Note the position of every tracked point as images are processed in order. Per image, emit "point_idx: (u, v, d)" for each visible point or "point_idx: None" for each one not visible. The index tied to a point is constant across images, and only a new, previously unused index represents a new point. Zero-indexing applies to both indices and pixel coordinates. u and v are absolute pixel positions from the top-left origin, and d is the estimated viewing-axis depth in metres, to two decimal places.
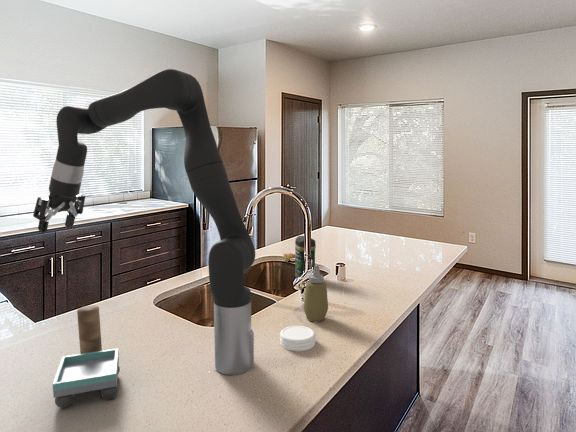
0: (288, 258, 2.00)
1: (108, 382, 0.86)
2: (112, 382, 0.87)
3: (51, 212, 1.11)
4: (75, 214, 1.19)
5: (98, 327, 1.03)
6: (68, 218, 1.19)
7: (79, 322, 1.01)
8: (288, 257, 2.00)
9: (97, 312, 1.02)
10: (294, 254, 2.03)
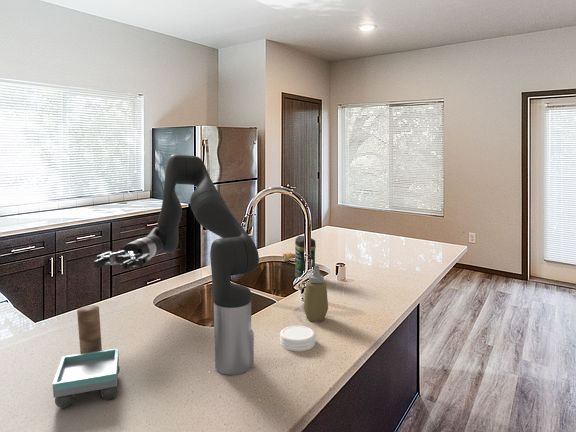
0: (288, 258, 2.00)
1: (108, 382, 0.86)
2: (112, 382, 0.87)
3: None
4: (133, 257, 1.16)
5: (98, 327, 1.03)
6: None
7: (79, 322, 1.01)
8: (288, 257, 2.00)
9: (97, 312, 1.02)
10: (294, 254, 2.04)
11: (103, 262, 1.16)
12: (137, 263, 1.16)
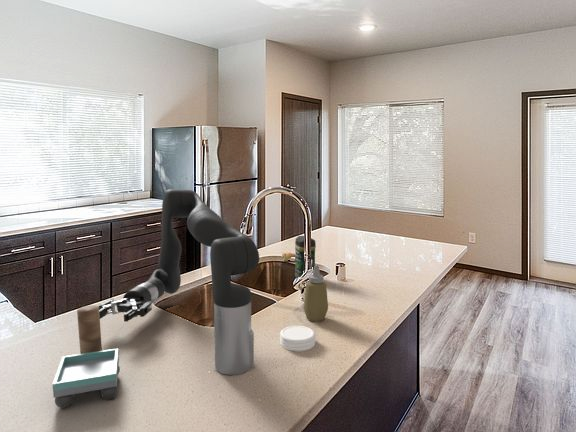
0: (287, 258, 2.00)
1: (108, 382, 0.86)
2: (112, 382, 0.87)
3: None
4: (134, 307, 1.16)
5: (98, 327, 1.03)
6: None
7: (79, 322, 1.01)
8: (287, 257, 2.01)
9: (97, 312, 1.02)
10: (293, 254, 2.04)
11: (105, 312, 1.16)
12: (139, 313, 1.15)
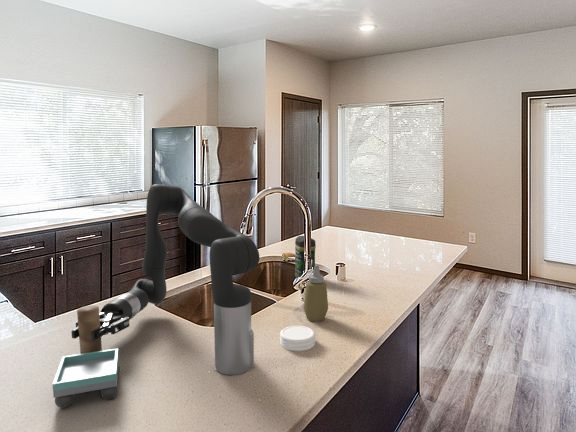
0: (287, 257, 2.01)
1: (108, 382, 0.86)
2: (112, 382, 0.87)
3: None
4: (105, 324, 1.05)
5: (98, 327, 1.03)
6: None
7: (79, 322, 1.01)
8: (287, 256, 2.01)
9: (97, 312, 1.02)
10: (292, 253, 2.05)
11: None
12: (109, 330, 1.04)
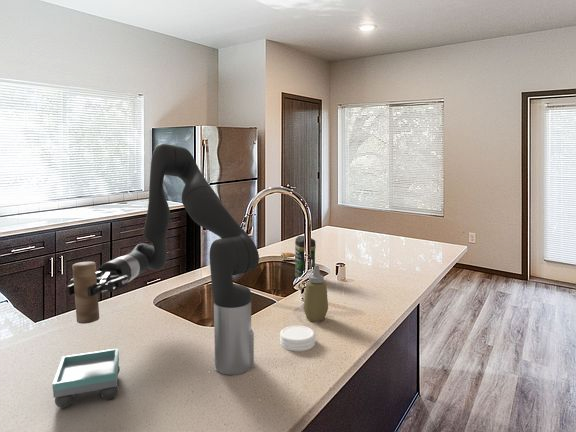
0: (286, 257, 2.01)
1: (108, 382, 0.86)
2: (112, 382, 0.87)
3: None
4: (102, 281, 0.99)
5: (94, 283, 0.97)
6: None
7: (74, 277, 0.95)
8: (286, 256, 2.01)
9: (93, 267, 0.97)
10: (292, 253, 2.05)
11: None
12: (106, 288, 0.99)
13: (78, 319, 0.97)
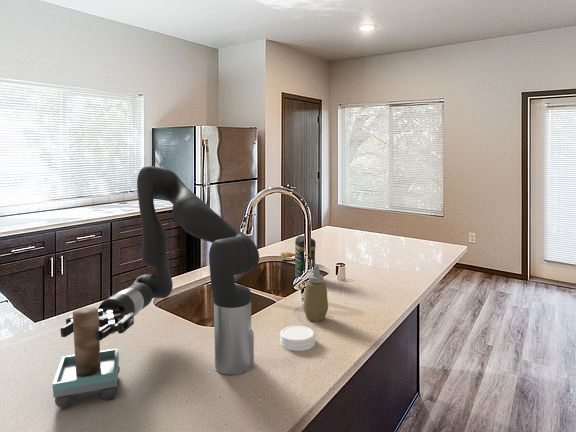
0: None
1: (108, 382, 0.86)
2: (112, 382, 0.87)
3: None
4: (111, 322, 0.91)
5: None
6: None
7: (75, 326, 0.86)
8: (286, 256, 2.02)
9: (96, 315, 0.88)
10: (291, 253, 2.06)
11: None
12: (116, 329, 0.90)
13: (77, 371, 0.88)
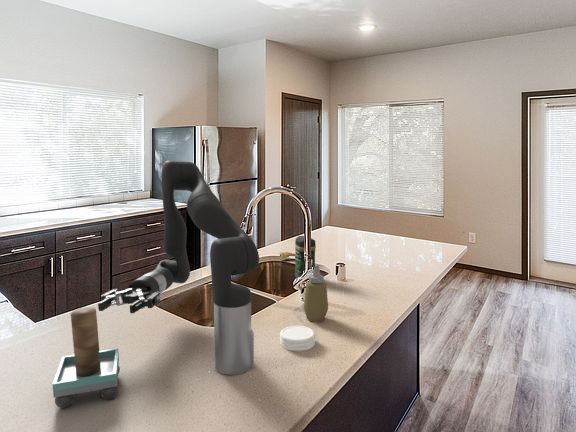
0: None
1: (108, 382, 0.86)
2: (112, 382, 0.87)
3: None
4: (141, 298, 1.04)
5: (95, 332, 0.89)
6: None
7: (73, 327, 0.86)
8: (285, 256, 2.02)
9: (94, 315, 0.88)
10: (290, 253, 2.06)
11: (108, 303, 1.04)
12: (146, 304, 1.03)
13: (77, 372, 0.88)
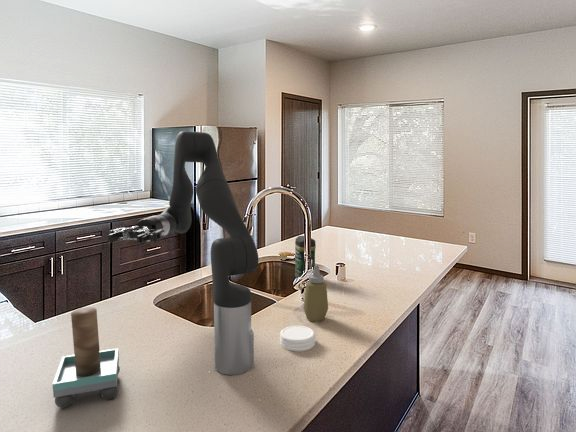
0: None
1: (108, 382, 0.86)
2: (112, 382, 0.87)
3: None
4: (147, 232, 1.14)
5: (95, 333, 0.88)
6: None
7: (73, 327, 0.86)
8: (285, 256, 2.03)
9: (94, 315, 0.88)
10: None
11: (117, 237, 1.14)
12: (151, 237, 1.13)
13: (77, 371, 0.88)
